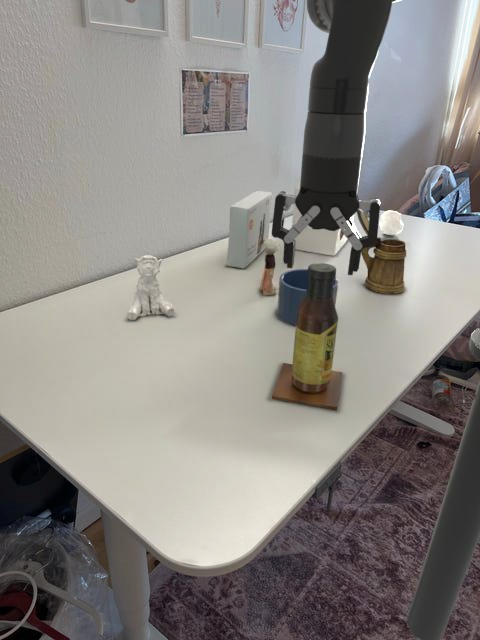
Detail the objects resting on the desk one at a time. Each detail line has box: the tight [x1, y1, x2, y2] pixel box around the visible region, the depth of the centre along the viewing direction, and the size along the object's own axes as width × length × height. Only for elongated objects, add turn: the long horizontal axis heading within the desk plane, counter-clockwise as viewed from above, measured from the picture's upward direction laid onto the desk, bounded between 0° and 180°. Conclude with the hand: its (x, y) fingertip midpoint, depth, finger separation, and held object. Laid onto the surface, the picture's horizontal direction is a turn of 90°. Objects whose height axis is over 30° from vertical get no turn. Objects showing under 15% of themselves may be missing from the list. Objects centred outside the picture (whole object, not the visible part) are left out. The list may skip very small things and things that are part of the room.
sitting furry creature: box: [126, 254, 175, 321], centre depth 98 cm, size 10×9×12 cm
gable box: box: [291, 182, 355, 257], centre depth 139 cm, size 22×13×28 cm, turn 156°
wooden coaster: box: [271, 362, 343, 411], centre depth 77 cm, size 10×10×1 cm
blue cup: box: [277, 268, 339, 327], centre depth 99 cm, size 12×12×8 cm
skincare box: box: [226, 190, 273, 269], centre depth 129 cm, size 21×5×16 cm, turn 160°
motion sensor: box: [378, 209, 404, 236], centre depth 152 cm, size 8×8×8 cm
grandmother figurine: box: [259, 238, 280, 296], centre depth 108 cm, size 8×4×13 cm, turn 12°
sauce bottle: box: [291, 262, 339, 393], centre depth 73 cm, size 7×6×20 cm
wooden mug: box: [356, 209, 407, 295], centre depth 112 cm, size 9×14×18 cm, turn 69°
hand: (320, 269), depth 68 cm, fingers open, 8 cm apart
